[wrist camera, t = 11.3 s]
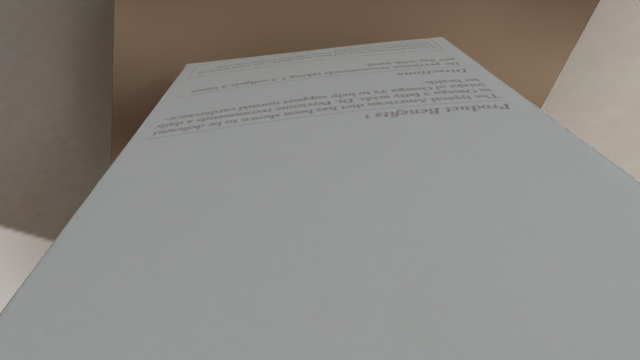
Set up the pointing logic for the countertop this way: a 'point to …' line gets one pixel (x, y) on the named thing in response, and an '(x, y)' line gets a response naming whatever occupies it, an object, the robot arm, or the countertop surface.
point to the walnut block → (331, 39)
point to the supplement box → (342, 223)
